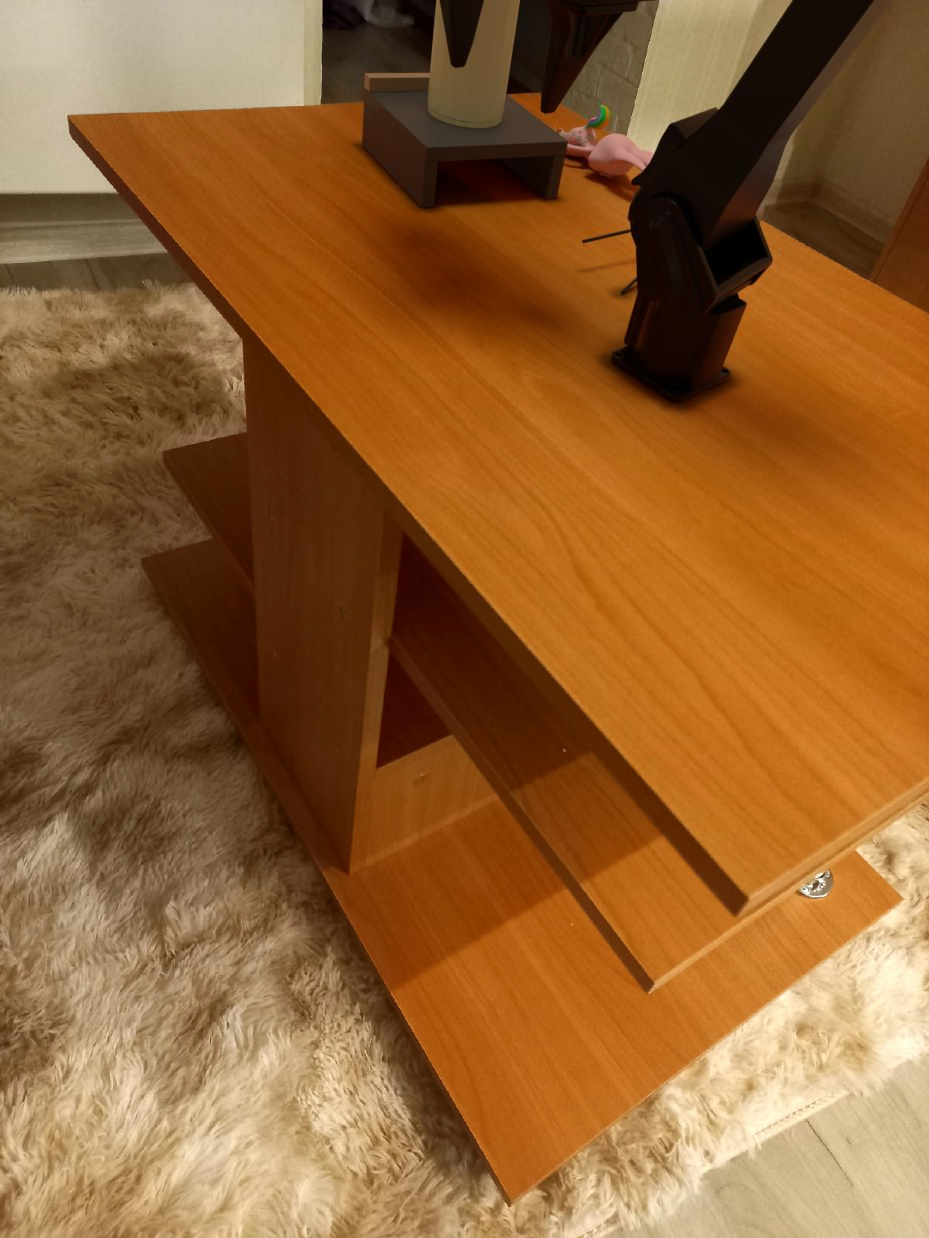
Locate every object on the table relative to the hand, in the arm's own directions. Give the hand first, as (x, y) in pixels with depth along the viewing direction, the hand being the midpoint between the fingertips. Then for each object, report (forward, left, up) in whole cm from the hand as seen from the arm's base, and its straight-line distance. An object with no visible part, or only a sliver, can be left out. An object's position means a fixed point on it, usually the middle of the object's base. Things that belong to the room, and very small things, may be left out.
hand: (501, 89), depth 60 cm
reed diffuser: (-6, -18, -13) cm, 23 cm away
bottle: (+16, -12, -8) cm, 21 cm away
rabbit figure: (+10, -26, -13) cm, 31 cm away
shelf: (+16, -12, -13) cm, 24 cm away
